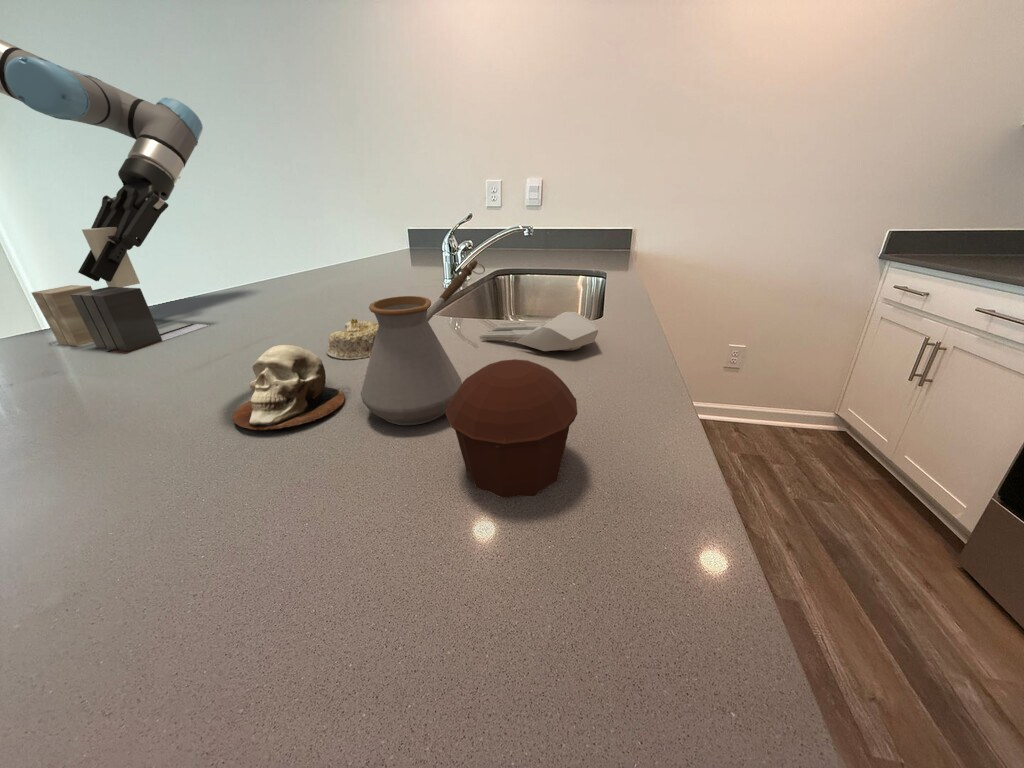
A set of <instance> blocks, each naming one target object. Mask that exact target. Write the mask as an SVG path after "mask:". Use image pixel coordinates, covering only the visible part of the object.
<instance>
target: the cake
mask: <svg viewBox="0 0 1024 768" xmlns="http://www.w3.org/2000/svg"><path fill="white" fill-rule="evenodd" d="M378 326H379V323H378V322H375V321H371V320H370V321H369V320H363V321H359V320H358V319H357V318H356V319H354V318H351V319H350V321H347V322H346V323H345V324H344V328H345V330H338V331H335V332H332V333H330V334H329V335H328V346H327V347H326V348H325V353H326V354H327V355H329V357H332V358H336V359H341V360H356V359H358V360H359V359H362V358H363V359H365V358H368V357H369V358H370V356H371V352H372V349H373V345H374V341H375V337H376V333H377V329H378Z"/></svg>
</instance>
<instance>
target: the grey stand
mask: <svg viewBox="0 0 1024 768" xmlns="http://www.w3.org/2000/svg"><path fill="white" fill-rule="evenodd" d="M71 297H72V299H73V301H74V303H75V305H76V307H77V309H78V311H79V313H80V315H81V317H82V319H83V321H84V323H85V325H86V327H87V329H88V331H89V333H90V335H91V337H92V339H93V341H94V342H93V343H94V345H95V348H97V349H103V350H106V353H114V354H123V355H127V354H131V353H133V352H136V351H139V350H141V349H144V348H148V347H151V346H154V345H156V344H159V343H162V342H165V341H168V340H171V339H174V338H177V337H180V336H183V335H186V334H189V333H191V332H195V331H197V330H201V329H204V328H207V327H210V326H211V324H201V323H199V324H198V323H191V324H187V325H184V326H181V327H179V328H174V329H172V330H168V331H166V332H162V333H160V331H159V329H158V327H157V324H156V322H155V320H154V317H153V314H152V313H151V310H150V307H149V306H148V303H147V300H146V298H145V296H144V293H143V291H142V289H141V288H140V287H127V286H126V287H108V286H106V287H105V286H104V287H101V288H96V289H92V290H90V291H85V292H80V293H75V294H71Z"/></svg>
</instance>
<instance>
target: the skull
mask: <svg viewBox="0 0 1024 768" xmlns="http://www.w3.org/2000/svg"><path fill="white" fill-rule="evenodd" d="M252 371H253V373H254V375H255V380H251V381H250V383H249V388H250V390H251V391H253V394H252V396H251V398H250V400H249V401H247V402H245V403H243V404H242V405H240V406H239V407H238V408H236V410H235V411H234V412H233V414H232V417H231V419H232V422H233V423H234V424H235V425H237V426H239V427H241V428H245V429H248V430H255V431H258V430H259V431H269V430H277V429H279V430H280V429H283V428H290V427H296V426H297V427H298V426H300V425H302V424H303V425H305V424H306V423H310V422H313V423H316V422H317V420H318V419H323V417H328V416H329V415H330V414H331V413H333V412H335V411H336V410H337V409H339V408H340V407H341V406H342V405H343V404H344V402H345V398H346V395H345V394H344V393H343V391H341V390H340V389H336V388H332V387H328V386H326V384H327V383H326V379H327V378H326V376H327V375H326V369H325V366H324V363H323V360H322V359H321V358H320V357H319V356H317V355H316V354H314V353H313V352H312V351H310V350H308V349H305V348H304V347H300V346H297V345H291V344H290V345H289V344H278V345H275V346H272V347H270V348H268V349H266V351H264V352H263V353H262V354H261V355H260V356H259V357H258V358H257V360H255V362H254V363H253V365H252Z"/></svg>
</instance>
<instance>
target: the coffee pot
mask: <svg viewBox="0 0 1024 768" xmlns="http://www.w3.org/2000/svg"><path fill="white" fill-rule="evenodd" d="M478 265H479V266H481V268H482V269H483V272H477V271H475V269H476V267H477V266H478ZM485 272H486V268H485V266H484V265H483V264H482V263H480V262H478V260H475V259H474V260H473V261H471V262H470V263H469V264H468V266H464V268H463V269H462V272H460V273H459V274H458V275H456V277H453V279H452V281H451V282H450V283H449V284H448V285H447V287H446V288H445V290H444V291H443V292H442V293H441V295H440V296H439V297H438V299H437V300H436V301H435V302H434V303H433V304H432V301H431V299H430V298H428V297H425V296H417V295H402V296H401V295H400V296H391V297H386V298H382V299H378V300H375V301H373V302H371V303H370V304H369V306H368V310H369V311H370V312H371V313H373V314H374V316H375V319H376V320H377V323H378V324H379V326H378V329H377V333H376V337H375V341H374V345H373V349H372V352H371V356H370V357H369V361H368V363H367V364H368V365H367V368H366V371H365V375H364V379H363V384H362V387H361V391H360V397H361V401H362V403H363V404H364V406H365V407H366V408H367V409H368V410H369V411H370V412H371V413H372V414H373V415H375V416H377V417H379V418H381V419H383V420H386V422H388V423H391V424H394V425H398V426H415V425H422V424H425V423H429V422H432V421H434V420H437V419H438V418H440V417H441V416H443V415H444V414H446V413H445V411H446V409H447V407H448V405H449V403H450V400H451V398H452V397H453V396H454V395H455V393H456V391H457V390H458V388H459V387H460V386H461V384H462V383H463V381H462V378H461V376H460V375H459V373H458V371H457V370H456V368H455V366H454V364H453V362H452V361H451V359H450V357H449V356H448V354H447V352H446V350H445V348H444V347H443V345H442V344H441V342H440V340H439V338H438V337H437V335H436V333H435V331H434V329H433V328H432V326H431V324H430V322H429V321H430V320H431V319H432V318H433V316H435V314H436V313H437V312H438V310H440V308H441V307H442V306H443V305H444V303H446V302H447V301H448V300H449V299H450V298H451V297H452V296H453V295H454V294H455V293H456V292H457V291H458V290H459V289H460V288H461V287H462V286H463V285H464V283H465V281H466V280H467V278H468V277H470V276H472V275H473V273H474V274H475V275H483V274H484V273H485Z"/></svg>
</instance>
